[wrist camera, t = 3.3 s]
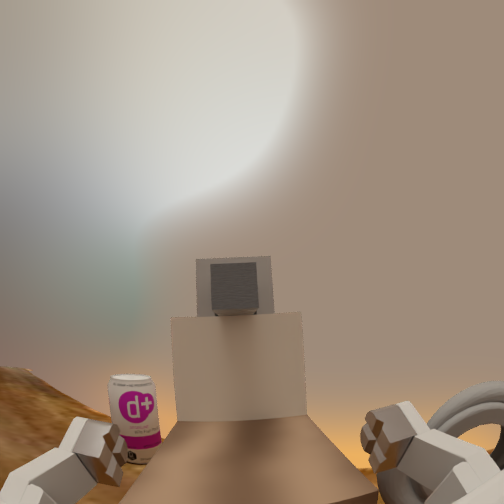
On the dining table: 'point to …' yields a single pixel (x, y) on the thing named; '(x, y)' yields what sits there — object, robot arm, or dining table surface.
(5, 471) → the dining table surface
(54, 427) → the dining table surface
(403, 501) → the turbocharger housing
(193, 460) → the step
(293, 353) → the stand
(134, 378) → the supplement can
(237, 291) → the metal bar
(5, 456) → the dining table surface
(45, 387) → the dining table surface
